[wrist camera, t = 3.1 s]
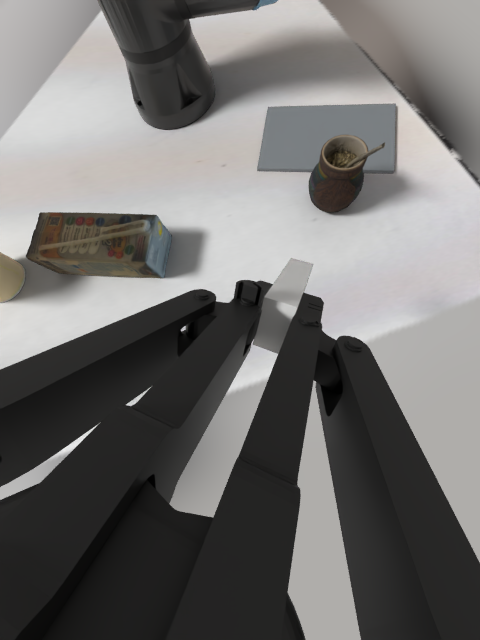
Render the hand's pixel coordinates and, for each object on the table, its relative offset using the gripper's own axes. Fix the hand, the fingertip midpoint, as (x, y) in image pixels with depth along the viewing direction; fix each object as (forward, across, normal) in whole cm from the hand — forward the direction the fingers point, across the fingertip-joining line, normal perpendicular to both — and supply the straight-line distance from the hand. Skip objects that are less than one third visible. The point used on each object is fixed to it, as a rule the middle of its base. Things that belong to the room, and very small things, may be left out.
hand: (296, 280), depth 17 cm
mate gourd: (+28, 0, +3) cm, 28 cm away
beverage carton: (+15, -30, -10) cm, 35 cm away
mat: (+35, -4, +11) cm, 37 cm away
